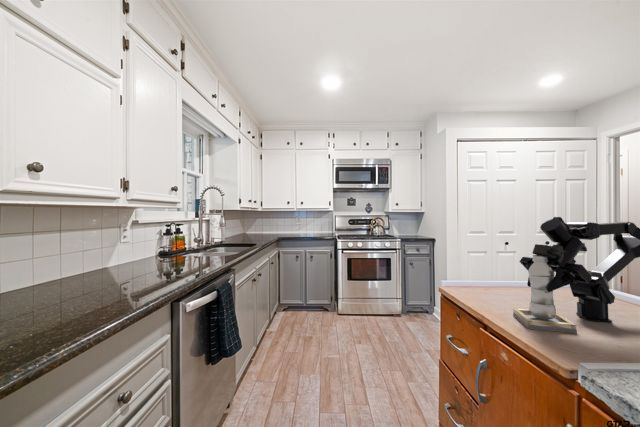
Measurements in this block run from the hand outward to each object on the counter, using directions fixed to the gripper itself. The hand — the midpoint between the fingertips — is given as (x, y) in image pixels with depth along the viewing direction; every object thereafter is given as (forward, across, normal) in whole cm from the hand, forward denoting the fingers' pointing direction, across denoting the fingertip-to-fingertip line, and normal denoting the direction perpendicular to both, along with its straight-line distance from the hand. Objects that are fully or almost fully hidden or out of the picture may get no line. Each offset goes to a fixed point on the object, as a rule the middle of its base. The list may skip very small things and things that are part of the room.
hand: (537, 288), depth 86 cm
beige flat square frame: (+7, 0, +9) cm, 11 cm away
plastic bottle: (+6, 0, +8) cm, 10 cm away
